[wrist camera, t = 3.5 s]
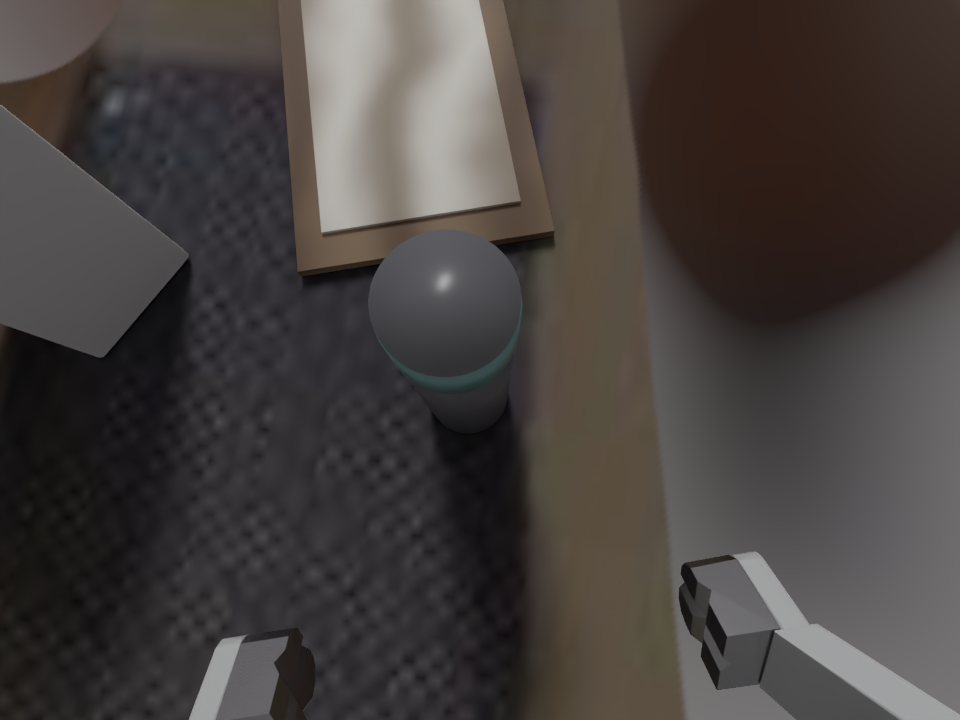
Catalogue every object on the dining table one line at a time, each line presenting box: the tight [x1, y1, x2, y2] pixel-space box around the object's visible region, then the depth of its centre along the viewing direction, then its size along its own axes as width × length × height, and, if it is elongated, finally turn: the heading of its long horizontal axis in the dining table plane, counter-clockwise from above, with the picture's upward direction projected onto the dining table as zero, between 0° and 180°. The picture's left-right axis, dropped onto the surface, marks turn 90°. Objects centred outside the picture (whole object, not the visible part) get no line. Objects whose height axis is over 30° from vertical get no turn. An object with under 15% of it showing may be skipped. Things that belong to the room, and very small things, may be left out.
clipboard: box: [278, 0, 554, 276], centre depth 30 cm, size 14×24×2 cm, turn 9°
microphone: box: [368, 229, 522, 434], centre depth 19 cm, size 4×4×13 cm
